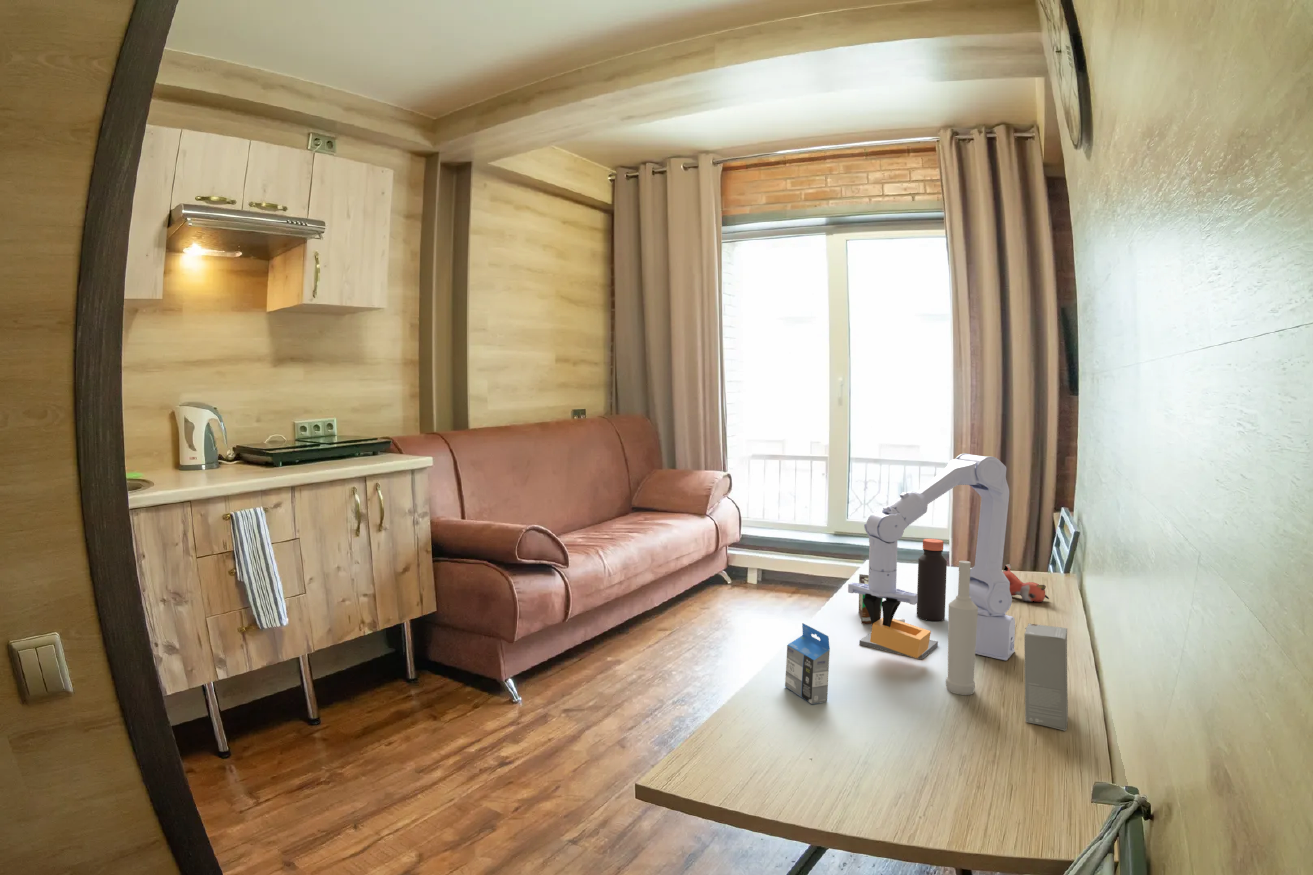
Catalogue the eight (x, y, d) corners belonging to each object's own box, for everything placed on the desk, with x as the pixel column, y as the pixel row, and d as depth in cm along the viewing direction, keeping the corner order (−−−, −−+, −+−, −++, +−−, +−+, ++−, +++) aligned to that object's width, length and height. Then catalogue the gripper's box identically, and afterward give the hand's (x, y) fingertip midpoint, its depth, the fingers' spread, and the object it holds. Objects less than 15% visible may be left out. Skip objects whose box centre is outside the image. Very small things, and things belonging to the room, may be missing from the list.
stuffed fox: (1005, 567, 209) (1051, 571, 202) (1002, 603, 204) (1049, 608, 197) (1000, 557, 204) (1047, 560, 197) (996, 594, 199) (1044, 598, 192)
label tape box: (784, 686, 137) (785, 624, 136) (801, 683, 139) (803, 622, 138) (811, 705, 129) (812, 639, 128) (829, 701, 131) (831, 636, 130)
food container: (888, 627, 174) (889, 587, 173) (862, 625, 175) (863, 585, 174) (882, 612, 186) (883, 575, 185) (858, 610, 187) (859, 573, 186)
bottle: (973, 686, 138) (978, 560, 137) (976, 697, 133) (981, 566, 132) (944, 682, 140) (949, 557, 138) (946, 693, 135) (951, 563, 134)
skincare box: (1066, 732, 119) (1070, 640, 119) (1019, 721, 123) (1023, 632, 122) (1068, 713, 127) (1072, 626, 126) (1023, 704, 130) (1027, 619, 130)
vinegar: (916, 619, 180) (918, 541, 179) (916, 612, 186) (919, 536, 185) (944, 622, 178) (947, 544, 176) (944, 615, 184) (947, 539, 183)
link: (927, 648, 150) (930, 631, 150) (916, 658, 145) (920, 639, 144) (882, 633, 156) (884, 615, 156) (870, 641, 151) (872, 623, 150)
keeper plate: (937, 645, 161) (938, 619, 161) (921, 659, 152) (922, 631, 152) (877, 632, 170) (878, 607, 169) (859, 644, 161) (860, 618, 161)
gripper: (842, 566, 153) (841, 628, 154) (910, 577, 144) (908, 643, 145) (856, 561, 159) (854, 620, 160) (921, 571, 150) (919, 634, 151)
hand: (881, 630), depth 153 cm, fingers closed on link, 2 cm apart
